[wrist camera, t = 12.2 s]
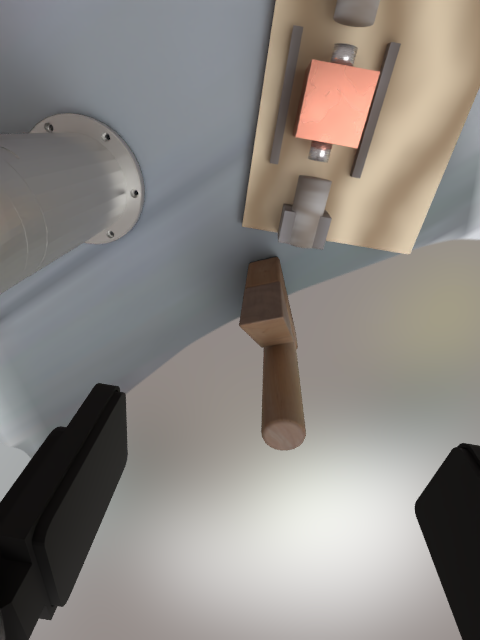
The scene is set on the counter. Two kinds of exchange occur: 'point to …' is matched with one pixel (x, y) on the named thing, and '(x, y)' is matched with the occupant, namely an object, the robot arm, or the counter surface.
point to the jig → (380, 126)
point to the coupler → (334, 102)
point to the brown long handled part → (274, 353)
